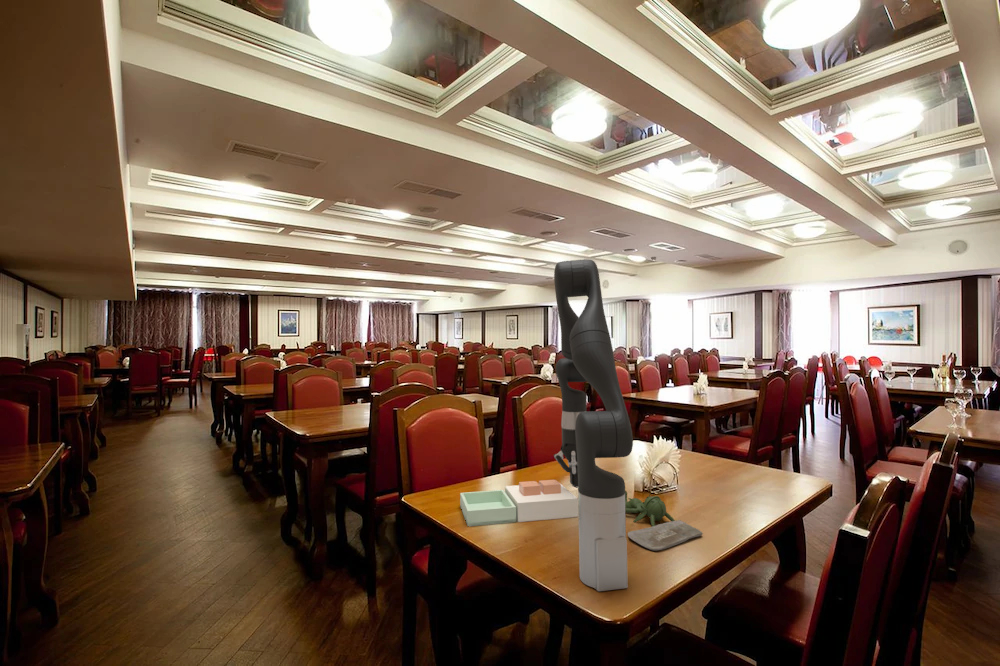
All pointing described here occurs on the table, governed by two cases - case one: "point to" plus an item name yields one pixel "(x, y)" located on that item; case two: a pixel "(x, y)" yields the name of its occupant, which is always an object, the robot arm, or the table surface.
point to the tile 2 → (550, 486)
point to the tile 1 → (529, 488)
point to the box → (487, 508)
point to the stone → (664, 535)
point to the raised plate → (543, 505)
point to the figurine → (647, 508)
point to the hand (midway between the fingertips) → (575, 485)
